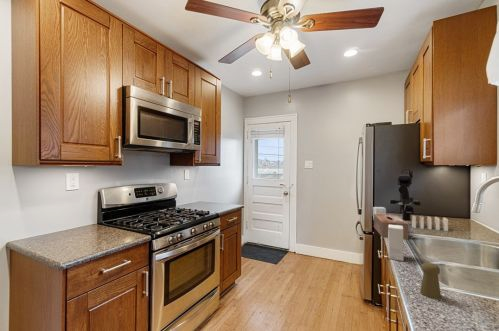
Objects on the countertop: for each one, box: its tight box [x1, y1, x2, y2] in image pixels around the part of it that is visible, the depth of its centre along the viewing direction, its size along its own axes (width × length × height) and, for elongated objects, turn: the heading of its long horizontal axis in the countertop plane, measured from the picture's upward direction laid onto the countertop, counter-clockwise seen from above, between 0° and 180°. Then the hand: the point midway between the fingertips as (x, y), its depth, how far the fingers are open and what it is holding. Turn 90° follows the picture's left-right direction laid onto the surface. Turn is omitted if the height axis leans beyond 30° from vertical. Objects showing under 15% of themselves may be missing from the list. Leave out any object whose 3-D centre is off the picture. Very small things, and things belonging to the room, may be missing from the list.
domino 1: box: [418, 215, 425, 230], centre depth 170 cm, size 2×5×8 cm, turn 155°
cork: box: [419, 262, 442, 300], centre depth 85 cm, size 6×6×11 cm
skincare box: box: [387, 224, 405, 262], centre depth 119 cm, size 8×7×16 cm
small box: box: [372, 206, 387, 220], centre depth 195 cm, size 8×6×10 cm
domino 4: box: [442, 217, 449, 231], centre depth 164 cm, size 2×5×8 cm, turn 155°
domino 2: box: [426, 216, 433, 229], centre depth 168 cm, size 2×5×8 cm, turn 155°
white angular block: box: [411, 214, 417, 228], centre depth 172 cm, size 2×5×8 cm, turn 155°
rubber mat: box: [408, 224, 451, 233], centre depth 169 cm, size 10×26×1 cm, turn 65°
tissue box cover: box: [373, 213, 409, 240], centre depth 161 cm, size 26×14×10 cm, turn 163°
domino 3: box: [434, 216, 441, 230], centre depth 166 cm, size 2×5×8 cm, turn 155°
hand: (404, 213), depth 174 cm, fingers closed
